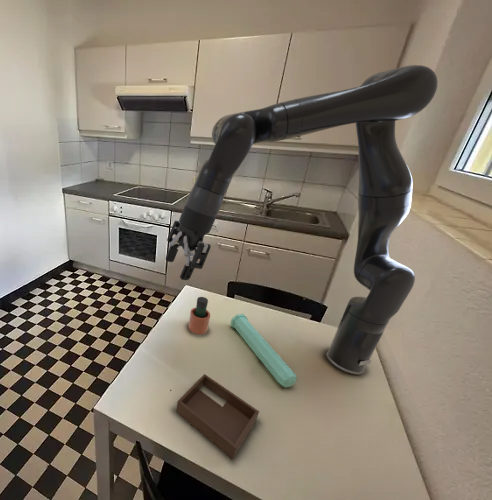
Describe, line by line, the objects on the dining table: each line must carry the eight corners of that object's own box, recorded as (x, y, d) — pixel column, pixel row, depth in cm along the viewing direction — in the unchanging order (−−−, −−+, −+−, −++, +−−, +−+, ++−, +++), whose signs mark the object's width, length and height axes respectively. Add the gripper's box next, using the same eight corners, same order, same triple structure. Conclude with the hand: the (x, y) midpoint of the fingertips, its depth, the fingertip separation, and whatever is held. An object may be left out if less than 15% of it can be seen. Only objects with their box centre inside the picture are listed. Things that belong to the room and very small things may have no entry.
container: (301, 371, 69) (245, 310, 91) (280, 381, 69) (228, 318, 91) (302, 385, 72) (247, 323, 94) (282, 395, 72) (231, 330, 94)
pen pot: (195, 320, 96) (197, 305, 93) (210, 329, 92) (213, 313, 89) (184, 328, 91) (186, 312, 89) (200, 338, 88) (203, 321, 85)
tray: (202, 383, 72) (204, 373, 70) (255, 421, 63) (259, 411, 62) (176, 411, 64) (177, 401, 63) (232, 459, 56) (236, 448, 54)
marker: (196, 323, 94) (201, 295, 89) (204, 328, 92) (210, 299, 87) (190, 327, 91) (195, 299, 87) (199, 332, 89) (204, 303, 85)
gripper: (232, 223, 58) (202, 287, 64) (199, 201, 70) (176, 257, 76) (204, 217, 55) (175, 285, 61) (174, 195, 67) (152, 254, 73)
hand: (176, 269), depth 69 cm, fingers open, 8 cm apart
